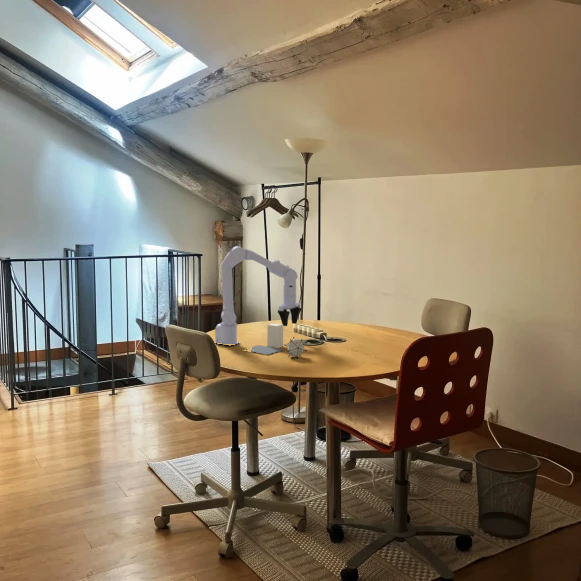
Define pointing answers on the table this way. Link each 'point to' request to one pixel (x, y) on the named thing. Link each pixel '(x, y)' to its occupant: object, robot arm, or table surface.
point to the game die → (295, 347)
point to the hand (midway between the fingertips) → (289, 324)
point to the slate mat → (265, 349)
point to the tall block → (275, 335)
